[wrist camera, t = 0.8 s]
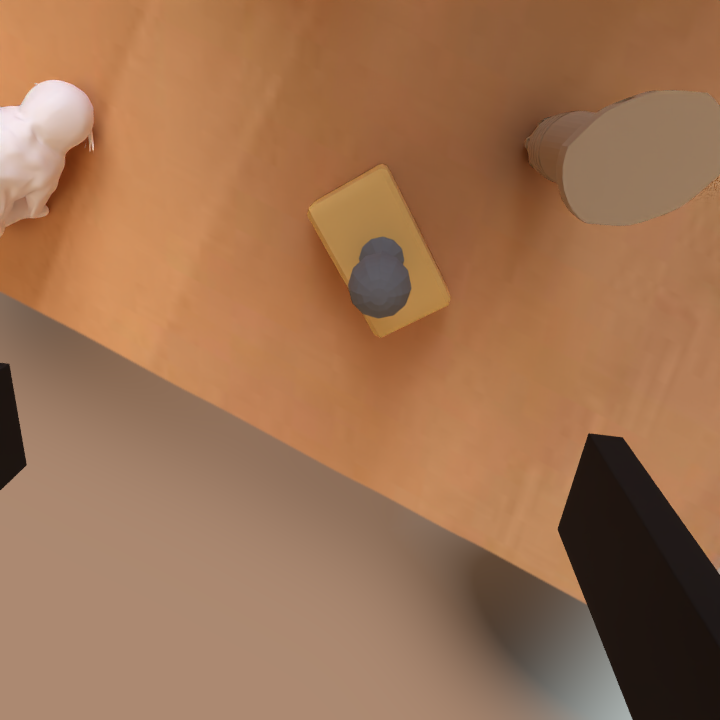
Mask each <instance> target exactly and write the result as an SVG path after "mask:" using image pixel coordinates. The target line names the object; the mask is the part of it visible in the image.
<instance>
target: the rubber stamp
mask: <svg viewBox="0 0 720 720" xmlns="http://www.w3.org/2000/svg"><path fill="white" fill-rule="evenodd" d="M307 216H308V218H309V220H310V222H311V223H312V225H313V227H314V229H315V231H316V232H317V234H318V236H319V238H320V239H321V241H322V243H323V245H324V247H325V248H326V250H327V252H328V254H329V255H330V257H331V259H332V261H333V263H334V264H335V266H336V268H337V270H338V271H339V273H340V275H341V277H342V279H343V280H344V282H345V284H346V286H347V287H348V289H349V292H350V296H351V300H352V303H353V304H354V305H355V306H356V307H357V308H358V309H359V310H360V311H361V312H362V314H363V316H364V318H365V319H366V321H367V323H368V325H369V326H370V328H371V330H372V332H373V333H374V335H376V336H378V337H380V338H381V337H384V336H386V335H388V334H390V333H392V332H394V331H396V330H398V329H400V328H402V327H404V326H406V325H408V324H411V323H413V322H415V321H417V320H419V319H421V318H423V317H425V316H427V315H429V314H431V313H433V312H435V311H437V310H440V309H442V308H444V307H446V306H448V305H449V302H450V299H451V297H450V294H449V291H448V288H447V285H446V283H445V281H444V279H443V277H442V275H441V273H440V271H439V269H438V267H437V265H436V263H435V261H434V259H433V257H432V255H431V253H430V251H429V249H428V247H427V245H426V243H425V241H424V239H423V237H422V235H421V233H420V230H419V228H418V226H417V224H416V222H415V220H414V218H413V216H412V214H411V212H410V210H409V208H408V206H407V204H406V202H405V200H404V198H403V196H402V194H401V192H400V190H399V188H398V186H397V184H396V182H395V180H394V178H393V176H392V174H391V172H390V170H389V168H388V166H386V165H383V164H380V165H378V166H376V167H374V168H372V169H371V170H369V171H367V172H365V173H364V174H362V175H360V176H358V177H357V178H355V179H353V180H351V181H349V182H348V183H346V184H344V185H342V186H341V187H339V188H337V189H335V190H334V191H332V192H330V193H328V194H326V195H325V196H323V197H321V198H319V199H318V200H316V201H315V202H314V203H313V204H312V205H311V206H310V207H309V209H308V214H307Z"/></svg>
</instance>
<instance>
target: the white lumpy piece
mask: <svg viewBox="0 0 720 720" xmlns="http://www.w3.org/2000/svg"><path fill="white" fill-rule="evenodd" d="M32 83H33V82H32ZM35 84H37V83H35ZM34 86H35V85H34ZM93 124H94V109H93V106H92V104H91V101H90V100H89V98H88V96H87V95H86V94H85V93H84V92H83V91H82V90H80V89H79V88H77V87H76V86H74V85H72V84H70V83H67V82H64V81H60V80H48V81H44V82H41V83H39V84H37V85H36V86H35V87H33V88H32V89H31V90H30V91H29V92H28V94H27V95H26V97H25V98H24V100H23V102H22V103H21V105H20V106H7V107H0V237H1V236H2V234H3V233H4V231H5V227H7V226H9V225H11V224H13V223H16V222H17V221H19V220H21V219H25V218H40V217H44V216H46V215H48V213H49V208H48V207H47V206H46V205H45V204H46V203H47V201H48V199H49V198H50V196H51V194H52V193H53V192H54V191H55V190H56V188H57V186H58V181H59V178H60V175H61V173H62V171H63V169H64V166H65V155H66V153H67V152H68V151H69V150H70V149H71V148H73V147H74V146H76V145H79V144H80V143H81V142H83V141H85V139H86V138H87V136H88V138H89V149H90V148H91V146H92V150H93V151H94V142H93V133H92V128H93ZM85 142H86V141H85ZM86 143H87V142H86ZM83 144H84V142H83ZM85 146H86V145H85ZM90 151H91V149H90Z"/></svg>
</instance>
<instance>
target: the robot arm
mask: <svg viewBox="0 0 720 720" xmlns="http://www.w3.org/2000/svg"><path fill="white" fill-rule="evenodd" d="M25 466H26V458H25V453H24V447H23V442H22V436H21V429H20V424H19V418H18V412H17V406H16V401H15V395H14V389H13V383H12V378H11V371H10V366H9V364H5V363H0V490H1V489H2V488H3V487H4V486H5V485H6V484H7V483H8V482H10V481H11V480H12V479H13V478H14V477H15V476H16V475H17V474H18V473H19V472H20V471H21V470H22V469H23V468H24V467H25ZM558 532H559V534H560V537H561V539H562V542H563V544H564V547H565V550H566V552H567V555H568V557H569V560H570V562H571V565H572V567H573V570H574V572H575V575H576V577H577V580H578V582H579V585H580V588H581V590H582V593H583V595H584V598H585V600H586V603H587V605H588V608H589V610H590V613H591V615H592V618H593V620H594V623H595V625H596V628H597V630H598V633H599V636H600V638H601V641H602V643H603V646H604V648H605V651H606V653H607V656H608V658H609V661H610V663H611V666H612V668H613V671H614V674H615V676H616V678H617V681H618V684H619V686H620V689H621V691H622V694H623V696H624V699H625V701H626V704H627V707H628V709H629V712H630V714H631V717H632V719H633V720H720V575H719V573H718V572H717V570H716V569H715V567H714V566H713V565H712V563H711V562H710V560H709V559H708V557H707V556H706V555H705V553H704V552H703V550H702V549H701V548H700V546H699V545H698V543H697V542H696V540H695V539H694V538H693V536H692V535H691V533H690V532H689V531H688V529H687V528H686V526H685V525H684V524H683V522H682V521H681V519H680V518H679V516H678V515H677V514H676V512H675V511H674V509H673V508H672V507H671V505H670V504H669V502H668V501H667V499H666V498H665V497H664V495H663V494H662V492H661V491H660V490H659V488H658V487H657V485H656V484H655V483H654V481H653V480H652V478H651V477H650V475H649V474H648V473H647V471H646V470H645V468H644V467H643V466H642V464H641V463H640V461H639V460H638V458H637V457H636V456H635V454H634V453H633V451H632V450H631V449H630V447H629V446H628V444H627V443H626V442H625V440H624V439H623V437H614V436H606V435H598V434H588V437H587V440H586V443H585V446H584V449H583V452H582V455H581V458H580V461H579V465H578V468H577V471H576V474H575V477H574V480H573V483H572V486H571V489H570V492H569V496H568V499H567V502H566V505H565V508H564V511H563V514H562V517H561V520H560V523H559V526H558Z"/></svg>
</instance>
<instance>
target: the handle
mask: <svg viewBox="0 0 720 720" xmlns="http://www.w3.org/2000/svg"><path fill="white" fill-rule="evenodd" d="M524 146H525V147H526V149H527V151H528V155H529V160H528V162H529V164H530V165H531V166H532V167H533V168H534V169H536V171H537V172H538V173H540V174H541V175H542V176H543V177H545V178H546V179H548V180H550V181H552V182H555V183H557V185H558V189H559V192H560V195H561V198H562V200H563V202H564V204H565V205H566V207H567V208H568V209H569V211H570V212H571V213H572V214H573V215H574V216H576V217H577V218H578V219H579V220H581V221H583V222H585V223H589V224H599V225H611V226H628V225H633V224H637V223H641V222H644V221H647V220H650V219H653V218H656V217H659V216H662V215H664V214H667V213H669V212H671V211H674V210H676V209H678V208H680V207H681V206H683V205H684V204H686V203H687V202H688V201H690V200H691V199H692V198H694V197H695V196H696V195H697V194H698V193H700V192H701V191H702V190H703V189H704V188H705V187H707V186H708V185H709V184H710V183H711V182H712V181H713V180H715V179H716V178H717V177H718V176H719V174H720V105H719V104H718V103H717V102H716V100H715V99H714V98H713V97H712V96H711V95H710V94H708V93H704V92H693V91H680V90H664V91H649V92H644V93H641V94H637V95H635V96H632V97H629V98H626V99H624V100H621V101H619V102H616V103H614V104H611V105H609V106H607V107H605V108H603V109H601V110H599V111H598V112H597V113H594V112H588V111H573V112H566V113H562V114H558V115H555V116H552V117H548V118H545V119H543V120H541V121H540V122H539V123H538V126H537V127H536V129H535V130H534V131H533V133H532V135H530V136H529V137H528V138H526V139H525V143H524Z"/></svg>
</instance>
